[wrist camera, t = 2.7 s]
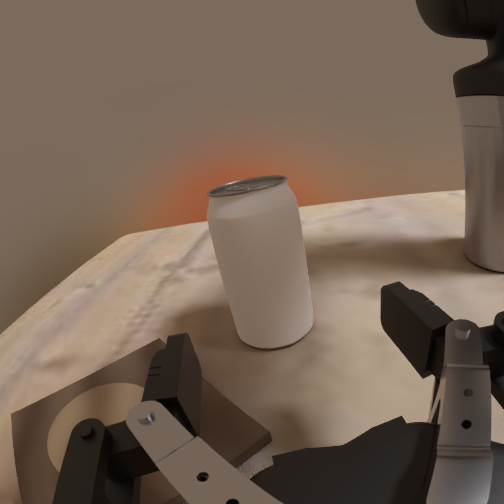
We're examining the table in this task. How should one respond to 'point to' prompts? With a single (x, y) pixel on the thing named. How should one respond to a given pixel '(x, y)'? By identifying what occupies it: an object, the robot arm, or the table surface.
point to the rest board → (114, 411)
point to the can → (262, 260)
